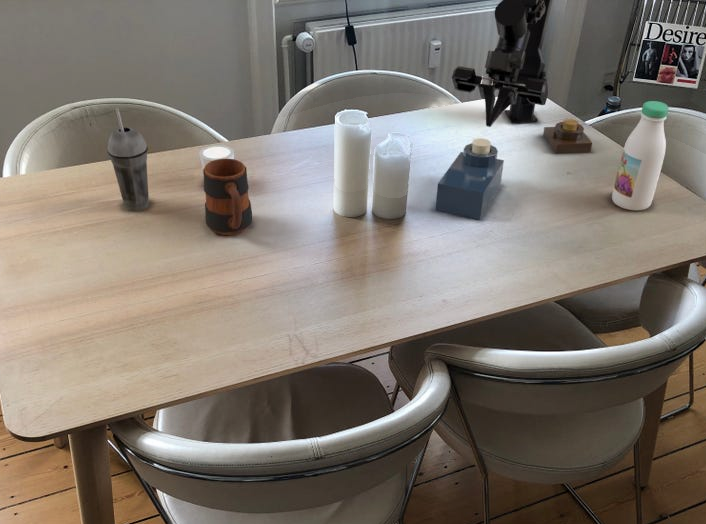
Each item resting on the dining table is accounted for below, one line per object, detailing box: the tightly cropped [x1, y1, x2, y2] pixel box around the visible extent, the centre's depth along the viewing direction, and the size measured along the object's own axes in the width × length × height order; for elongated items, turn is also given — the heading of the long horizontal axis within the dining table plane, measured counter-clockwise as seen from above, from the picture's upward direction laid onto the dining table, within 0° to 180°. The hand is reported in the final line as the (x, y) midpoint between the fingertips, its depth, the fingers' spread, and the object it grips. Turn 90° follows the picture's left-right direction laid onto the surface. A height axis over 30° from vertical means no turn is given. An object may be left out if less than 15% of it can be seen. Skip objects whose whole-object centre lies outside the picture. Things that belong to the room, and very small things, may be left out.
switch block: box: [542, 121, 593, 155], centre depth 184 cm, size 9×8×4 cm
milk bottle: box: [611, 100, 670, 211], centre depth 159 cm, size 8×8×20 cm
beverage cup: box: [107, 107, 150, 212], centre depth 154 cm, size 7×7×20 cm
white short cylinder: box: [471, 137, 492, 155], centre depth 164 cm, size 4×4×2 cm
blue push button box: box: [434, 142, 505, 221], centre depth 163 cm, size 16×9×8 cm, turn 157°
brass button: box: [562, 118, 579, 131], centre depth 183 cm, size 3×3×2 cm
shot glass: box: [198, 144, 235, 170], centre depth 166 cm, size 7×7×7 cm
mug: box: [202, 158, 253, 236], centre depth 151 cm, size 9×12×12 cm
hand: (488, 125), depth 165 cm, fingers closed
